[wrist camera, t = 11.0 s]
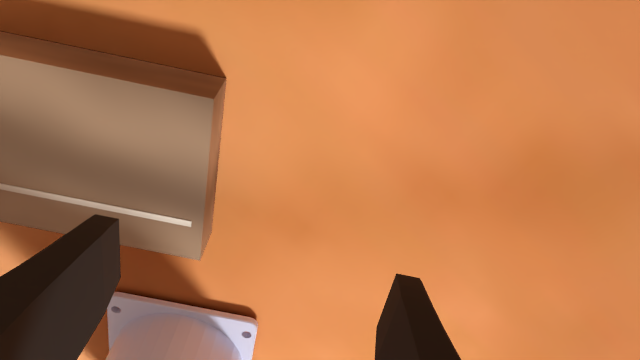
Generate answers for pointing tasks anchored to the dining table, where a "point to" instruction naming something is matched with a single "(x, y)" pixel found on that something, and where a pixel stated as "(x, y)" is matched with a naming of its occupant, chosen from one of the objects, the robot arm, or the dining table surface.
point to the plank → (108, 144)
